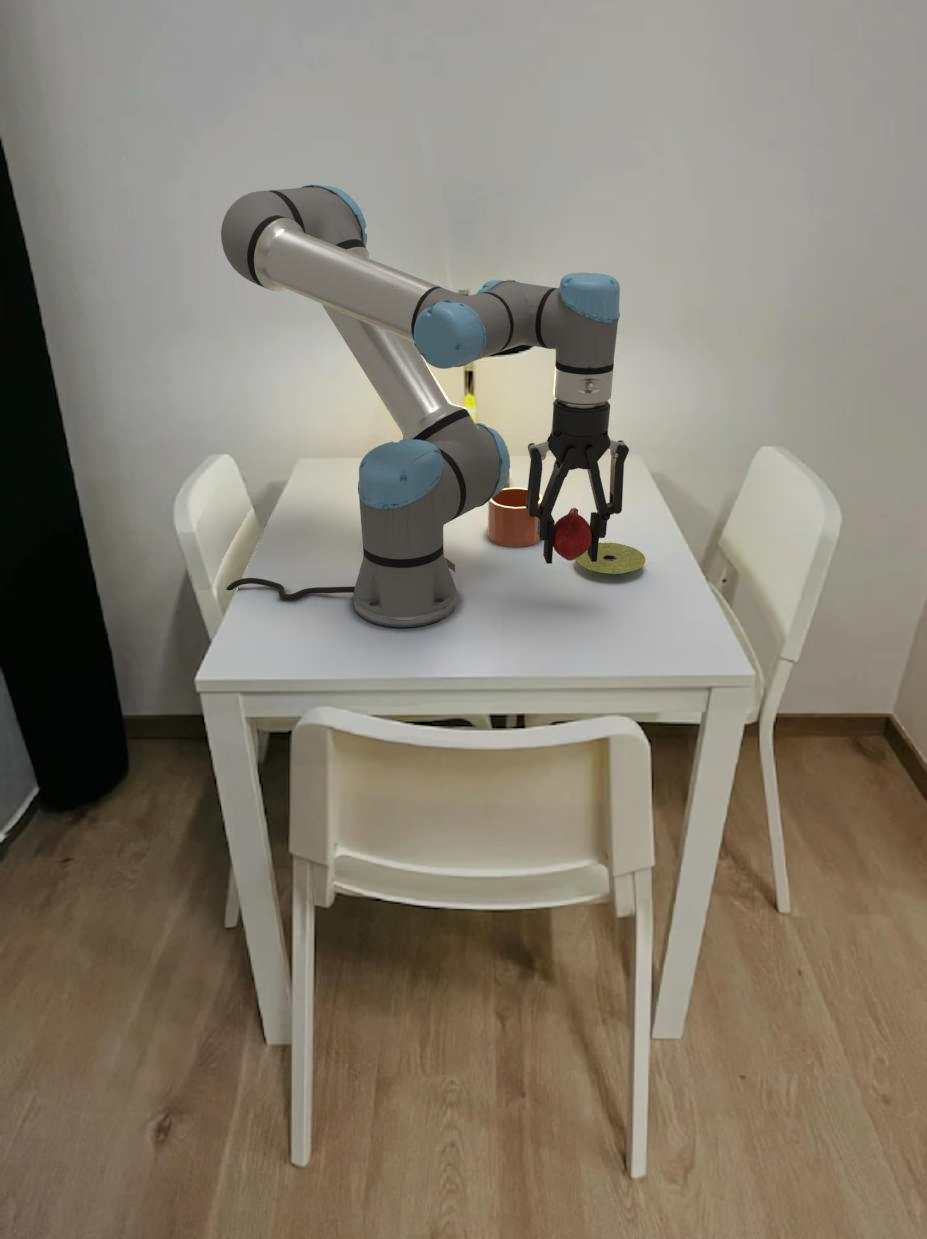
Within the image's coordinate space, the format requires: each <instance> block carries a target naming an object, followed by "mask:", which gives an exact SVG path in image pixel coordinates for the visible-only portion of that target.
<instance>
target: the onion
mask: <svg viewBox="0 0 927 1239" xmlns="http://www.w3.org/2000/svg"><path fill="white" fill-rule="evenodd" d="M591 541H592V531H591V528H590V523H589V522H588V521H587V520H586V519H585V517H583V516H582V515H580V514H579V509H578V508H577V507H572V508H570V510H569V512H568V513H567V514H565V515H563V516H561V517H560V518H559V519H558V520H556V522H555V525H554V540H553V550H554V551H555V552H556V553H557V554H558V555H559V556H561V558H563V559H565V560H566V561H574V560H575V558H577V557H579V556H581V555H582V554H583V553H585V552H586V551H587V550H588V548H589V547H590V545H591Z"/></svg>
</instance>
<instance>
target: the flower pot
mask: <svg viewBox="0 0 927 1239" xmlns="http://www.w3.org/2000/svg"><path fill="white" fill-rule="evenodd" d="M527 490H528V488H525V487H504V488H503V489H502V490H501V492H500V493H499V494H497V495H496V496H495V497H493V498H492V499H491V500H490V501H488V502H487V537H488V539H489V540H490V541H492V543H494V544H497V545H499V546H503V547H510V548H523V547H529V546H533V545H535V544H537V543H538V542H540V541H541V540H540V538H539V536H538V518H537V517H530V516H529V514H528V511H527V509H526V500H527ZM542 498H543V494H541V493H540V494H539V502H538V506H540V503H541V501H542Z"/></svg>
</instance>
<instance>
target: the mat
mask: <svg viewBox="0 0 927 1239" xmlns="http://www.w3.org/2000/svg"><path fill="white" fill-rule="evenodd" d="M587 553H588V550H587V551H586V552H585V553H583V554H582V555H581V556H579V557H577V558H575V559H574V560H575V562H576V563H577V564H579V565H580V566H582V567H583V568H585V569H587V570H589V571H592V572H595V573H596V572H597V573H601V574H602V573H603V574H610V575H611V574H612V575H616V574H617V575H620V574H626V573H631V572H635V571H636V570H639V569H641V568H642V567H643V566H644V565H645V563H646V556H645V554H644V553H642V551H640V550H639V549H636V548H635V547H632V546H629V545H626V544H623V543H618V542H599V543H598V554H597V562H592V561H591V560H590V558H589V556H588V554H587Z"/></svg>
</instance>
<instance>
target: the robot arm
mask: <svg viewBox="0 0 927 1239" xmlns="http://www.w3.org/2000/svg"><path fill="white" fill-rule="evenodd" d="M366 228H367V222H366V220H365V217H364V214H363V212H362V210H361V208H360V207H359V205H358V203H357V202H356V201H355V200H354V198H352V197H351V195H349V194H348V193H347V192H345V191H344V190H342V189H341V188H338V187H335V186H331V185H320V184H307V185H303V186H301V187H294V188H284V189H283V188H282V189H270V190H258V191H252V192H249V193H247V194H244V195H242V196H240V197H239V198H238V199H236V200H235V201H234V202H233V203H232V204H231V205H230V207H229V208H228V209H227V211H226V213H225V215H224V217H223V220H222V223H221V230H220V242H221V246H222V249H223V253H224V255H225V258H226V259H227V261H228V262H229V264H230V265H231V267H232V268H233V269H234V271H235V272H237V273H238V274H239V275H240V276H241V277H243V278H244V279H246V280H248V281H249V282H251V283H253V284H255V285H257V286H260V287H262V288H264V289H267V290H269V291H270V292H277V293H279V292H283V291H286V290H288V291H291V292H293V293H296V294H298V295H300V296H303V297H305V298H308V299H310V300H312V301H314V302H316V303H319V304H321V306H322V308H323V309H324V310H325V312H326V313H327V315H328V317H329V319H330V320H331V322H332V324H333V325H334V326H335V329H337V332H338V333H339V334H340V336H341V338H342V339H343V340H344V342H345V344H346V346H347V347H348V349H349V350H350V352H351V353H352V355H353V357H354V358H355V360H356V361H357V363H358V365H359V367H360V368H361V370H362V371H363V373H364V374H365V376H366V377H367V379H368V381H369V382H370V385H371V386H372V387H373V389H374V390H375V392H376V393H377V395H378V397H379V398H380V400H381V402H382V403H383V404H384V406H385V408H386V410H387V411H388V413H389V414H390V416H391V417H392V419H393V421H394V422H395V424H396V426H397V427H398V429H399V430H400V432H401V433H402V439H400V440H399V441H397V442H394V441H388V442H386V443H383V444H379V445H378V446H376V447H374V448H372V449H371V450H369V451H368V452H367V453H366V454H365V455H364V457H363V458H362V459H361V461H360V464H359V467H358V482H357V494H358V499H359V513H360V525H361V527H360V528H361V539H362V553H363V554H362V555H363V556H362V562H361V564H360V569H359V572H358V574H357V579H356V582H355V585H353V586H320V587H319V586H317V587H316V586H315V587H308V588H303V589H300V590H298V591H296V592H292V593H286V590H285V587H284V586H283V585H282V584H281V583H278V582H275V581H272V580H268V579H263V578H260V577H259V578H257V577H245V578H240V579H236V580H235V581H233V582H231V583H230V584H229V585H228V586H227V587H226V588H225V590H226V591H233V590H234V589H236V588H238V587H240V586H243V585H247V584H248V585H260V586H265V587H269V588H272V589H275V590H278V595H279V597H280V598H281V600H286V601H294V600H296V599H299V598H301V597H304V596H306V595H311V594H312V595H313V594H345V593H346V594H347V593H349V594H351V593H353V606H354V609H355V612H356V613H357V614H358V615H359V616H360V617H361V618H363V619H364V620H366V621H368V622H371V623H373V624H376V625H380V626H385V627H391V628H392V627H393V628H413V627H421V626H426V625H429V624H434V623H436V622H438V621H440V620H443V619H444V618H446V617H447V616H449V615H450V614H451V613H452V612H453V611H454V610H455V608H456V606H457V602H458V598H457V597H458V596H457V595H458V594H457V593H458V592H457V587H456V584H455V581H454V578H453V575H452V573H451V571H452V572H454V573H456V564H455V563H454V562H452V561H451V560H449V559H448V558H447V557H445V552H444V551H445V550H444V526H445V525H446V524H448V523H450V522H452V521H454V520H455V519H457V518H459V517H461V516H464V515H465V514H467V513H468V512H470V511H473V510H474V509H476V508H480V507H483V506H484V505H486V504H488V501H490V500H491V499H492V498H493V497H495V496H496V495H497V494H499V493H500V492H501V490H502V489H504V488H505V486H506V485H507V482H508V480H509V476H510V469H511V458H510V457H511V456H510V452H509V449H508V446H507V442H505V440H504V438H503V436H502V435H501V434H500V433H499V432H498V431H497V430H496V429H495V428H494V427H492V426H488V425H486V424H485V423H481V422H475V420H474V419H473V417H472V416H471V414H470V413H469V411H468V409H467V408H466V406H462V405H457V404H453V403H452V402H451V401H450V400H449V398H448V396H447V395H446V393H445V392H444V390H443V388H442V387H441V385H440V383H439V382H438V380H437V378H436V377H435V375H434V374H433V372H432V370H431V369H430V368H429V365H430V366H431V367H434V368H437V369H442V370H447V369H452V368H460V367H464V366H468V365H470V364H472V363H473V362H476V361H479V360H481V359H483V358H484V359H485V358H486V357H488V356H493V355H494V354H499V353H501V352H505V351H507V350H509V349H513V348H516V347H518V346H529V347H536V348H542V349H549V350H555V362H554V364H555V365H554V366H555V367H554V381H553V382H554V383H553V396H554V398H555V399H554V400H553V402H552V411H551V412H552V414H551V431H550V433H549V436H548V437H547V439H546V440H545V441H544V442H540V443H537V444H536V443H534V442H530V443H528V445H527V451H528V455H529V458H530V462H529V473H528V480H527V489H528V490H527V500H526V509H527V511H528V514H529V516H530V517H537V518H538V536H539V538H540V541H543V554H542V556H543V558H544V560H545V563H546V564H549V565H551V564H553V554H554V553H553V552H554V547H553V540H554V525H555V523H556V522H555V519H554V517H553V515H552V513H553V510H554V507H555V505H556V502H557V500H558V497H559V495H560V492H561V489H562V486H563V485H564V482H565V479H566V478H567V476H568V474H569V472H570V471H573V470H577V469H580V470H586V472H587V476H588V479H589V483H590V484H589V485H590V487H591V492H592V496H593V500H594V505H595V509H596V511H591V512H590V517H589V518H590V520H589V526H590V528H591V531H592V541H591V545H590V547H589V548H588V553H587V554H588V556H589V558H590V560H591V561H592V562H597V554H598V543H600V539H605V537H606V536H607V527H608V521H609V520H610V519H611V516H613V515H619V514H620V513H622V511H623V494H624V474H625V472H624V471H625V461H626V459H627V456H628V454H629V453H630V448H629V447H628V444H626V443H625V441H624V440H617V441H616V440H612V439H610V436H609V425H610V412H611V404H610V403H609V402H610V401H609V400H610V399H611V398H612V391H613V390H612V389H613V377H614V367H615V366H614V365H615V352H616V345H617V344H616V343H617V334H618V326H619V325H618V324H619V320H620V317H621V312H620V296H621V286H620V283H619V281H618V280H617V278H615V277H614V276H612V275H610V274H606V273H598V272H571V273H567V274H565V275H564V276H562V278H561V280H560V282H559V287H551V286H545V285H539V284H533V283H532V284H531V283H525V282H520V281H516V280H513V279H506V280H500V279H492V280H487V281H486V282H485V283H484V284H483V285H482V287H481V288H480V289H478V291H477V292H476V293H474V294H470V295H463V294H461V293H459V292H456V291H452V290H449V289H447V288H444V287H441V285H437V284H434V283H432V282H429V281H427V280H424V279H422V278H419V277H417V276H414V275H412V274H409V273H406V272H404V271H402V270H399V269H396V268H395V267H391V266H389V265H387V264H384V263H381V262H379V261H376V260H374V259H371V258H370V252H369V250H368V248H367V243H368V233H366V232H365V231H366V230H365V229H366ZM608 450H609V451H608ZM607 451H608V453H609V455H610V468H609V469H610V471H609V474H610V475H609V496H608V497H609V498H608V499H609V502H607V499H606V494H605V491H604V486H603V482H602V478H601V471H600V467H599V466H600V465H599V461H600V459H601V458H602V457H603V455H604V454H605V453H606V452H607ZM548 452H550V453H551V454H552V456H553V457H554V458H555V460H554V463H553V468H552V472H551V474H550V476H549V477H550V478H549V480H548V483H547V485H546V488H545V490H544V493H543V494H542V496H543V498H542V501H541V503H540V506H538V502H539V494H541V493H540V492H541V484H542V475H543V461H545V459H546V458H547V453H548Z"/></svg>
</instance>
